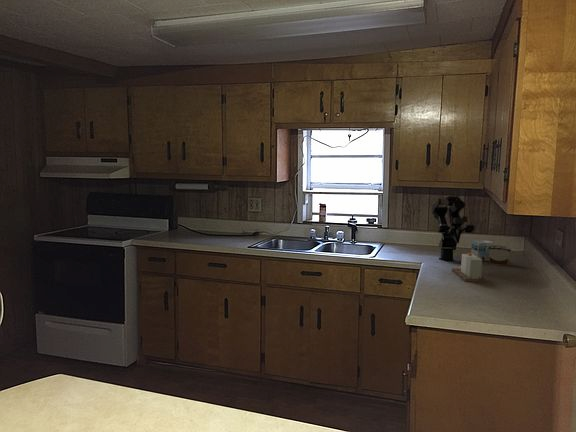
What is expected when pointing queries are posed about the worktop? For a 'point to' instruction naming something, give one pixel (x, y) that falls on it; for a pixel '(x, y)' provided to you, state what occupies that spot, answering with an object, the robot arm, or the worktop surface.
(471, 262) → the block
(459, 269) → the rail board
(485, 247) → the light bulb box
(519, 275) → the worktop surface
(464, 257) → the block
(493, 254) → the food container
